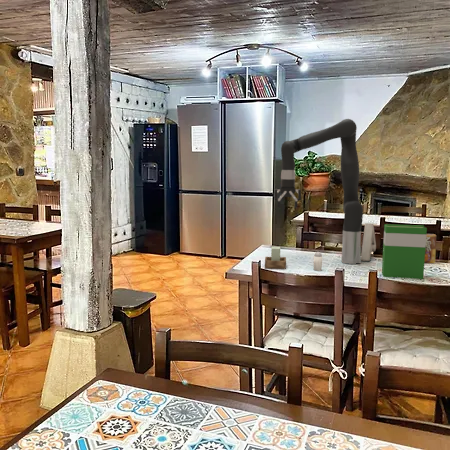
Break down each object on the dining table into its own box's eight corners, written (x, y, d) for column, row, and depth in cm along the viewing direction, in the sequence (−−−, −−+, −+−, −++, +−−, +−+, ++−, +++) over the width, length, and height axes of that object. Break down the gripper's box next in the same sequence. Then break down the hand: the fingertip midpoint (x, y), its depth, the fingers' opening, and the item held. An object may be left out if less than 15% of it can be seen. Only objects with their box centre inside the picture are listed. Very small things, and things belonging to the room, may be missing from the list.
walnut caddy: (285, 264, 237) (285, 257, 236) (286, 269, 227) (286, 261, 227) (265, 264, 238) (265, 256, 237) (264, 268, 229) (265, 260, 228)
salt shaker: (321, 268, 228) (321, 251, 227) (321, 270, 224) (322, 252, 223) (313, 268, 229) (313, 251, 227) (313, 270, 225) (314, 252, 223)
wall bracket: (372, 280, 267) (369, 260, 242) (364, 279, 269) (360, 259, 244) (376, 246, 276) (373, 223, 251) (368, 245, 278) (365, 223, 253)
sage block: (279, 264, 235) (280, 247, 233) (280, 266, 230) (280, 248, 229) (271, 263, 235) (271, 246, 234) (271, 265, 231) (271, 248, 229)
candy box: (432, 261, 244) (434, 233, 242) (435, 263, 240) (437, 235, 238) (415, 261, 246) (417, 233, 243) (417, 262, 241) (419, 234, 239)
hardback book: (420, 275, 217) (423, 225, 213) (423, 279, 210) (426, 228, 206) (381, 272, 221) (384, 224, 217) (383, 276, 214) (386, 226, 210)
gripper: (274, 178, 242) (274, 208, 245) (301, 178, 241) (300, 209, 243) (274, 177, 249) (274, 207, 252) (301, 178, 248) (300, 207, 250)
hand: (287, 208), depth 248 cm, fingers open, 8 cm apart
